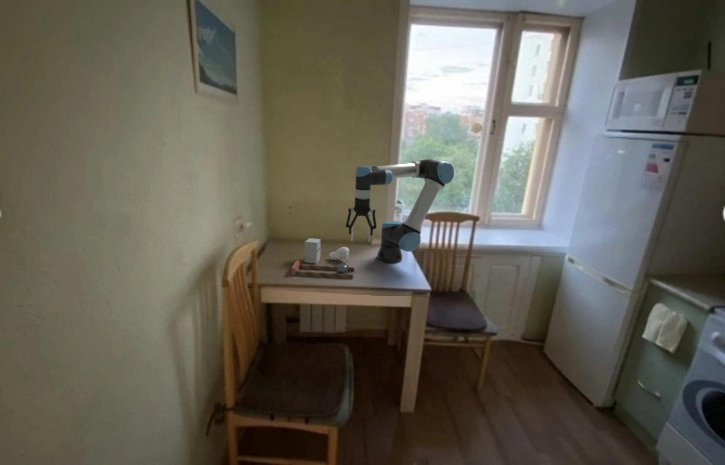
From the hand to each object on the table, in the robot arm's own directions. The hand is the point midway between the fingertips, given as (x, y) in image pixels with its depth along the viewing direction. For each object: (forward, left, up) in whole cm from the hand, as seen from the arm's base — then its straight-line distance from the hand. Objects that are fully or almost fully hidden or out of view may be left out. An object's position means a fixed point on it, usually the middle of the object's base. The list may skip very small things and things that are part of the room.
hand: (360, 240), depth 175 cm
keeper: (+9, 0, -19) cm, 21 cm away
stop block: (+34, 0, -19) cm, 39 cm away
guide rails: (+18, 0, -19) cm, 26 cm away
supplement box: (+28, -16, -20) cm, 38 cm away
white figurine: (+13, -19, -20) cm, 30 cm away
